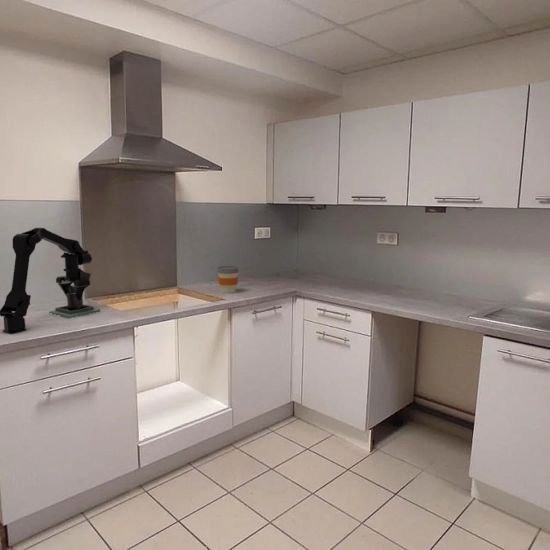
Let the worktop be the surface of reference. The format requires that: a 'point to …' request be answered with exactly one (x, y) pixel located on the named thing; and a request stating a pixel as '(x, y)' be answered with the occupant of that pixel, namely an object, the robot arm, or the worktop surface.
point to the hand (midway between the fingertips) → (74, 298)
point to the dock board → (69, 314)
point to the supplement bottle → (73, 300)
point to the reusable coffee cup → (228, 278)
